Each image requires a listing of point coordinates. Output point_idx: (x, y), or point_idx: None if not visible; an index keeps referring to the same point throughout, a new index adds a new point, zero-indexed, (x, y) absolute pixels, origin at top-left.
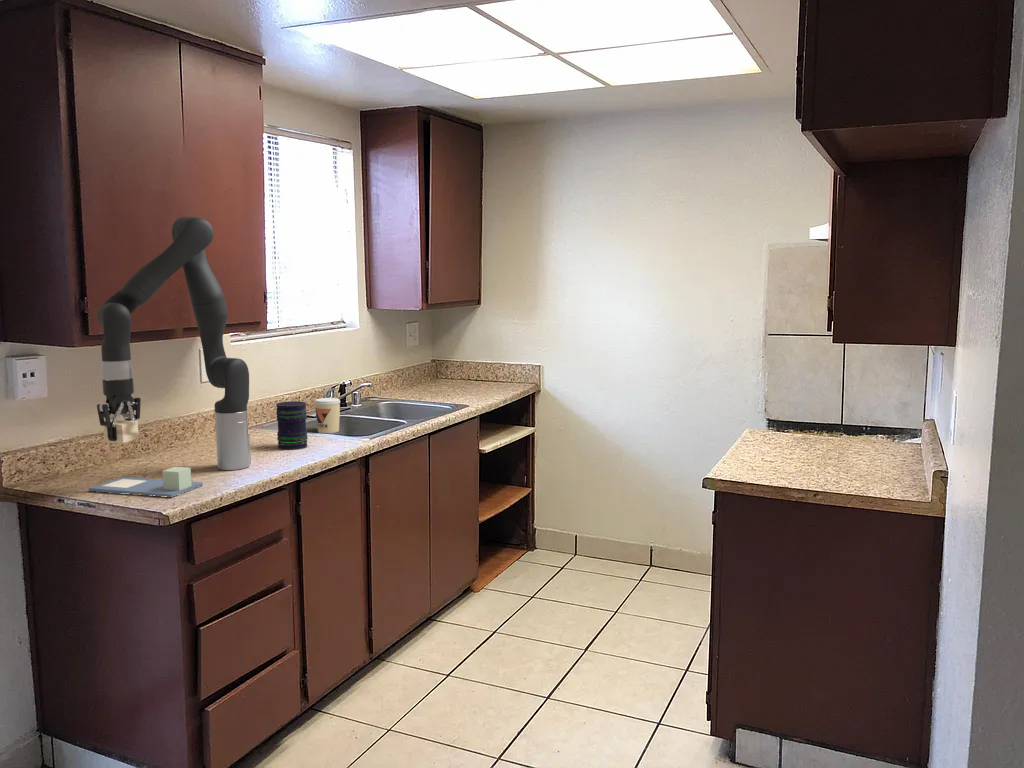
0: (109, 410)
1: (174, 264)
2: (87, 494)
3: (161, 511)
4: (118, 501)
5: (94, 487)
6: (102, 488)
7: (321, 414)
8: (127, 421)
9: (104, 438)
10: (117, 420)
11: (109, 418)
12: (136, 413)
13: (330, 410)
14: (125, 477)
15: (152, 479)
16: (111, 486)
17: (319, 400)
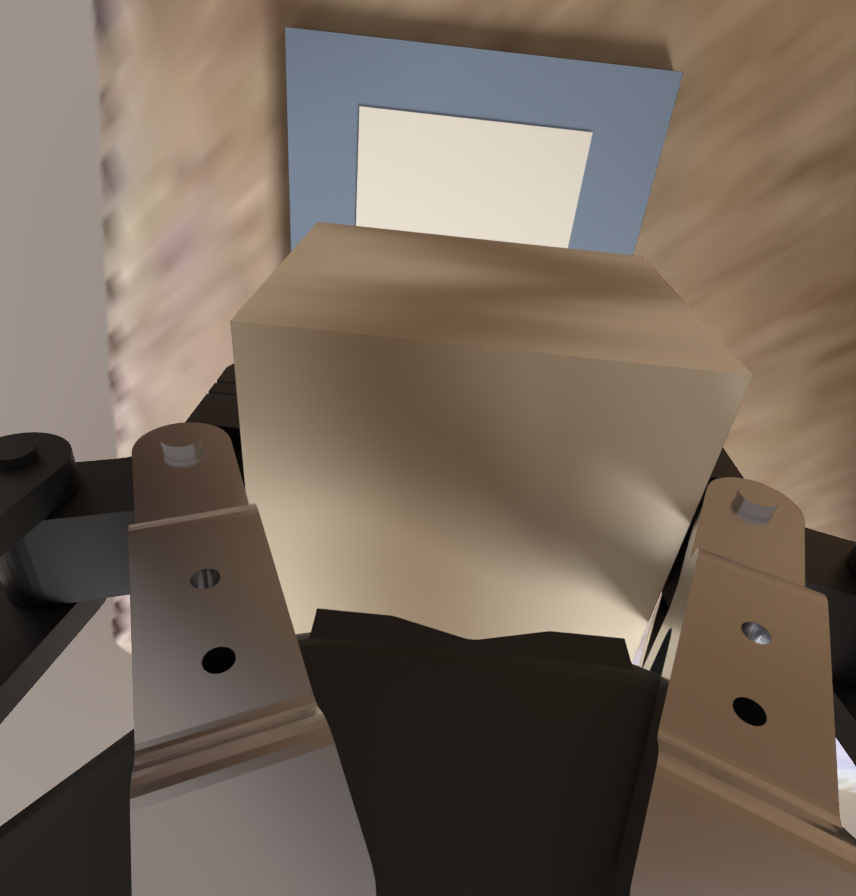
0: (117, 741)
1: None
2: (229, 78)
3: (129, 628)
4: (173, 394)
5: (314, 69)
6: (305, 163)
7: None
8: (555, 601)
9: (307, 237)
10: (686, 369)
11: (17, 684)
12: (841, 732)
13: None
14: (653, 113)
15: None
16: (361, 201)
17: None
